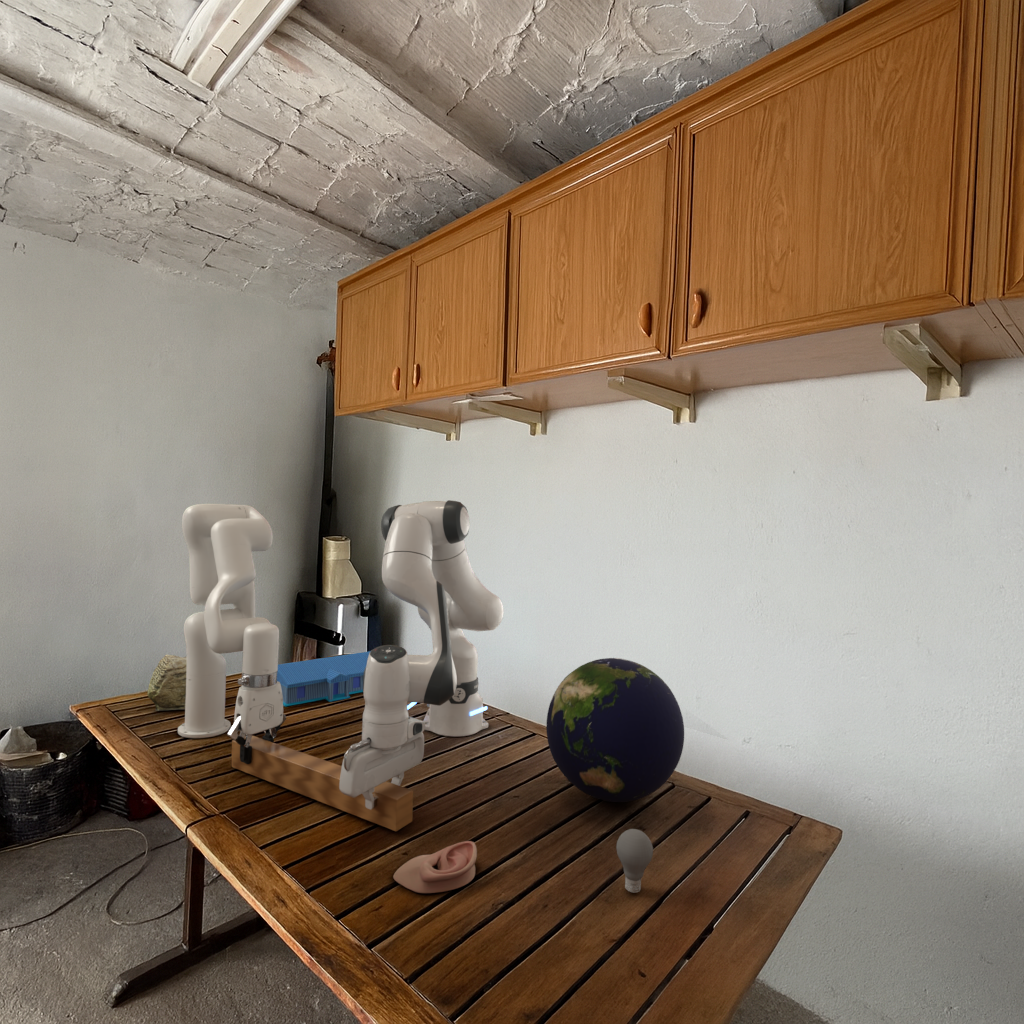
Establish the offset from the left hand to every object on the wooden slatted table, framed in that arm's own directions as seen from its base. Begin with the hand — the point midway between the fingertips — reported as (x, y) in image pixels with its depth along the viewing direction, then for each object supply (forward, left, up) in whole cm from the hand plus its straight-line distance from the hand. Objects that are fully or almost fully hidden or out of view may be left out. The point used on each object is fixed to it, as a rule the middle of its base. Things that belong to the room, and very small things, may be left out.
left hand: (256, 757), depth 144 cm
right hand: (+35, +16, +1) cm, 39 cm away
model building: (-53, +35, -3) cm, 64 cm away
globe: (+49, +64, -3) cm, 80 cm away
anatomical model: (+56, +17, -3) cm, 58 cm away
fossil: (-55, -8, -3) cm, 56 cm away
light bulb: (+76, +43, -3) cm, 87 cm away
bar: (+18, +8, -3) cm, 19 cm away
